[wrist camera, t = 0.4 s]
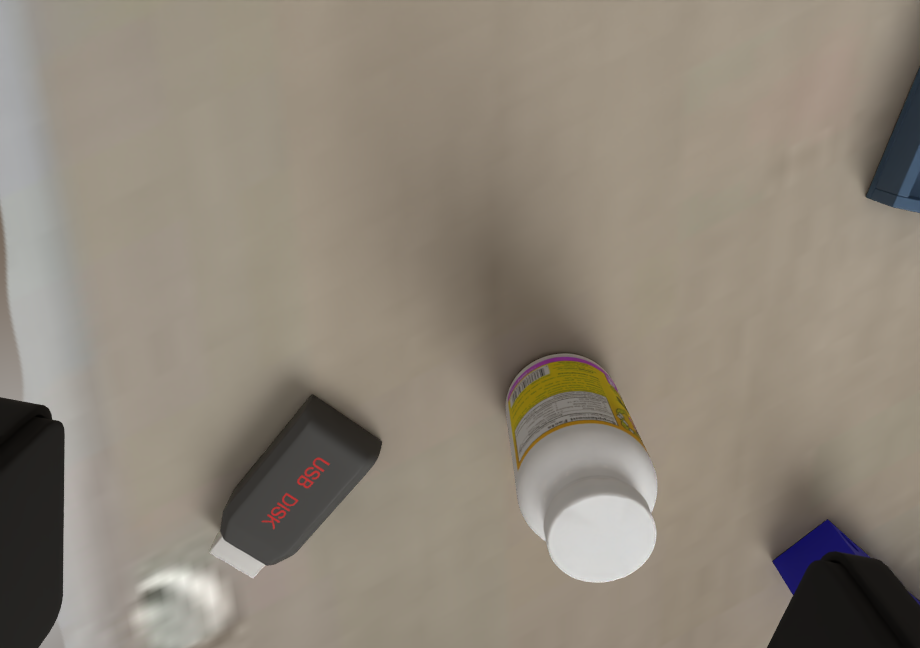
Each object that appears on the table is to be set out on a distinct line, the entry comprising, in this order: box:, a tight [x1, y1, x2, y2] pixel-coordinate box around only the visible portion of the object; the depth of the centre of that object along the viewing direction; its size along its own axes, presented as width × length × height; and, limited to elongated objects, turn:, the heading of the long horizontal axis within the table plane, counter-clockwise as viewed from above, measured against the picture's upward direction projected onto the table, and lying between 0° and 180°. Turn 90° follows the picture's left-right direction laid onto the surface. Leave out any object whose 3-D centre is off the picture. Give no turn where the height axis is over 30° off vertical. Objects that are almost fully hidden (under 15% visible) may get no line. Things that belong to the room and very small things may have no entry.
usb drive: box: [209, 395, 382, 578], centre depth 42 cm, size 5×12×3 cm, turn 141°
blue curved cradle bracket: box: [772, 519, 920, 605], centre depth 44 cm, size 12×4×6 cm, turn 48°
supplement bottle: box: [506, 353, 657, 582], centre depth 35 cm, size 7×7×13 cm
